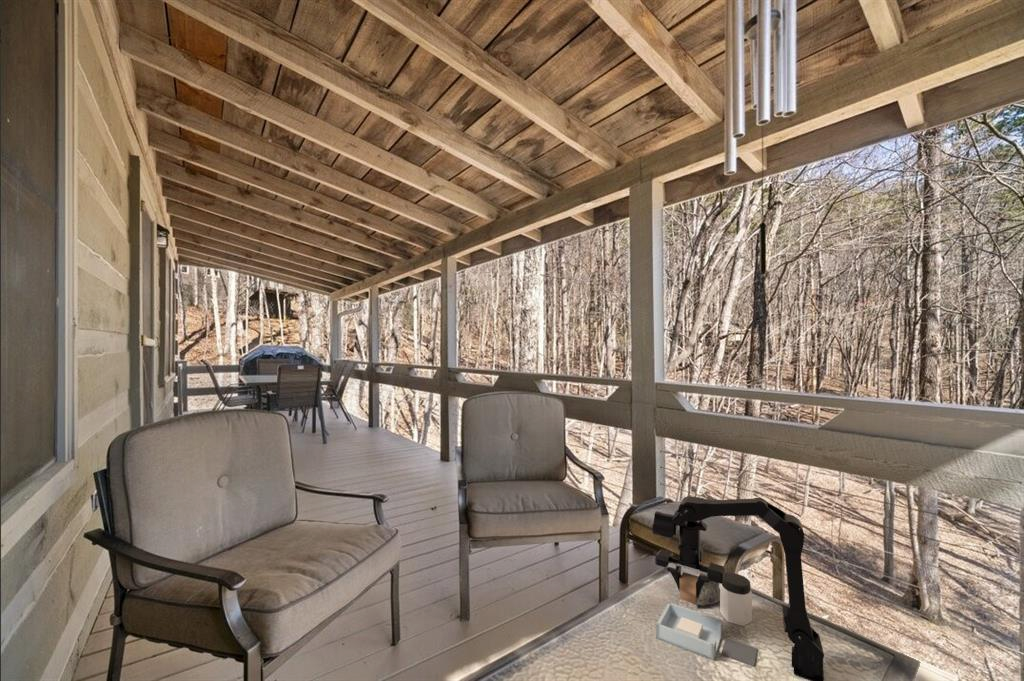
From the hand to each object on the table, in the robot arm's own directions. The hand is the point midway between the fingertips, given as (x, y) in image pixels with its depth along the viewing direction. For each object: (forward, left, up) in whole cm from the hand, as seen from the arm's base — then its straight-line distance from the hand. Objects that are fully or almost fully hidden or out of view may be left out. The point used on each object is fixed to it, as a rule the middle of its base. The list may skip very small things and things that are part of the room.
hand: (689, 594), depth 127 cm
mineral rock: (0, -22, -12) cm, 26 cm away
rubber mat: (-13, -1, -12) cm, 18 cm away
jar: (-10, -18, -12) cm, 24 cm away
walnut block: (0, 0, -1) cm, 1 cm away
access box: (0, 0, -12) cm, 12 cm away
